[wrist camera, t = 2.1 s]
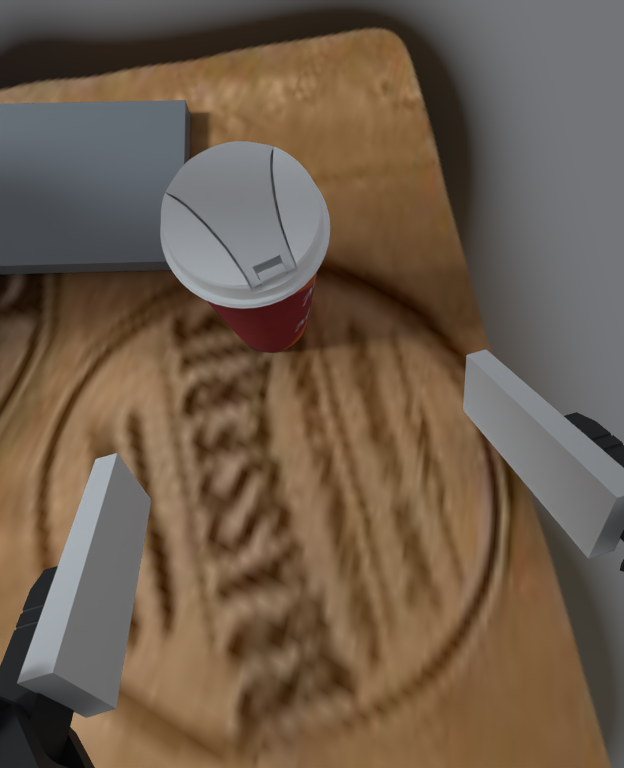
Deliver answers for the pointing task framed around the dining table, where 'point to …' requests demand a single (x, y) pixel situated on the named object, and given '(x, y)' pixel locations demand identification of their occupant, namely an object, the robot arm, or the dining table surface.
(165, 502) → the dining table surface
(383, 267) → the dining table surface
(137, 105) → the slate board
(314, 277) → the coffee cup
